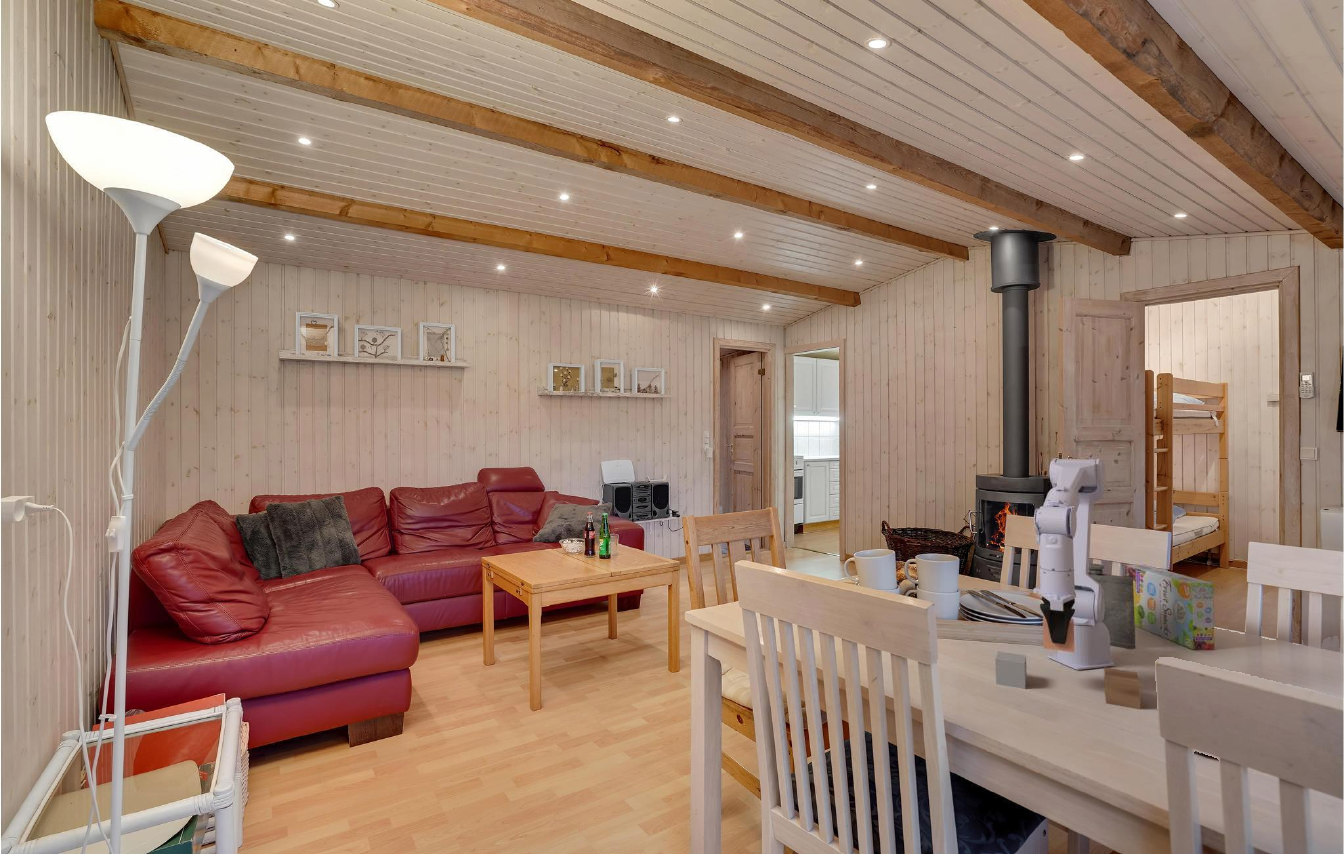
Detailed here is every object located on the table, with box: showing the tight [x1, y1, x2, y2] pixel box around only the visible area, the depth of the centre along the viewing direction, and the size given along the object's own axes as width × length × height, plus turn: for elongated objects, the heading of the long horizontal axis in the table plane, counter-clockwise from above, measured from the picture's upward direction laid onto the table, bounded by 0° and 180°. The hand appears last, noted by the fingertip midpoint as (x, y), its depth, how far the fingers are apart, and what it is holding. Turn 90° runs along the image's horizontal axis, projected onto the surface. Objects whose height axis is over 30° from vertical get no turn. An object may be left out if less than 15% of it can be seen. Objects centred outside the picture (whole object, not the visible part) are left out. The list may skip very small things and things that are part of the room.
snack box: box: [1124, 564, 1215, 651], centre depth 149 cm, size 21×6×15 cm, turn 179°
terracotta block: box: [1042, 615, 1075, 653], centre depth 120 cm, size 5×5×5 cm
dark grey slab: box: [1075, 563, 1136, 650], centre depth 146 cm, size 4×14×18 cm, turn 36°
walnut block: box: [1103, 667, 1141, 710], centre depth 113 cm, size 5×5×5 cm
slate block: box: [995, 651, 1028, 690], centre depth 123 cm, size 5×5×5 cm
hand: (1058, 638), depth 120 cm, fingers closed on terracotta block, 5 cm apart
